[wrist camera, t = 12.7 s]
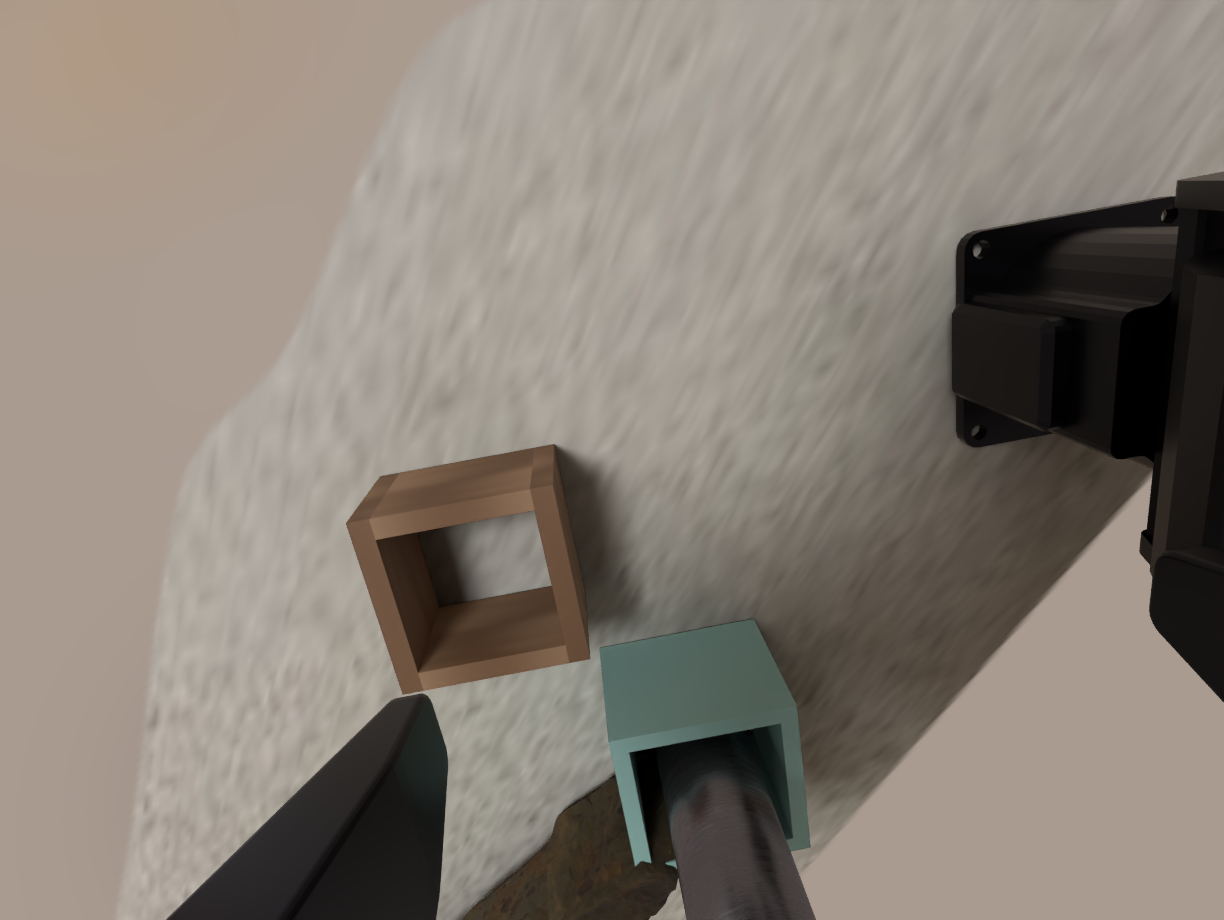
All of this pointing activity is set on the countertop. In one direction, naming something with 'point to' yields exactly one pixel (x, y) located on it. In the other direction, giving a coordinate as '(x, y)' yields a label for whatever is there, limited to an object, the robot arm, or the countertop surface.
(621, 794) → the hollow teal block
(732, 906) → the stepped grey cylinder
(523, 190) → the countertop surface
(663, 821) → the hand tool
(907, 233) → the countertop surface
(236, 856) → the robot arm
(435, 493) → the socket block
